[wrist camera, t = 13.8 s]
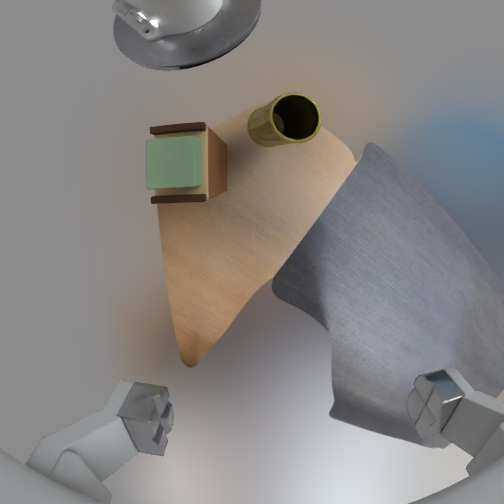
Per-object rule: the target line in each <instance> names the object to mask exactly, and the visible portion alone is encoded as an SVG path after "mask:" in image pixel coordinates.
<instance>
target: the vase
mask: <svg viewBox="0 0 504 504" xmlns="http://www.w3.org/2000/svg"><path fill="white" fill-rule="evenodd" d="M320 125H321V113H320V110H319V108H318V106H317V104H316V103H315V102H314V101H313V100H312V99H311V98H310V97H308V96H306V95H304V94H301V93H287V94H284V95H281V96H278V97H277V98H275V99H274V100H273V101H271V102H270V103H269V104H268V105H266V106H265V107H261V108H259V109H257V110H255V111H254V112H253V113H252V114H251V116H250V117H249V120H248V133H249V135H250V137H251V138H252V140H253V141H254V142H256V143H257V144H259V145H261V146H264V147H274V146H278V145H284V144H290V143H303V142H306V141H308V140H310V139H312V138H313V137H314V136H315V135H316V134H317V132H318V131H319V128H320Z"/></svg>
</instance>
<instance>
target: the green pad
mask: <svg viewBox="0 0 504 504" xmlns="http://www.w3.org/2000/svg"><path fill="white" fill-rule="evenodd" d="M146 177H147V189H163V188H182V187H196V186H202V184H203V182H202V140H200V139H198V138H197V137H195V136H183V137H172V138H162V139H153V140H147V141H146Z"/></svg>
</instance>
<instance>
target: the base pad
mask: <svg viewBox="0 0 504 504" xmlns="http://www.w3.org/2000/svg"><path fill="white" fill-rule="evenodd" d="M150 133H151V134H153V135H155V139H162V138H172V137H183V136H195V137H197V138H198V139H200V140H202V182H203V184H202V186H196V187H182V188H163V189H155V196H154V197H151V203H152V204H157V203H181V202H204V201H206V200H208V199H210V198H212V197H214V196H216V195H218V194H221V193H223V192H225V191H227V145H226V144H225V143H224V142H223V141H222V140H221V139H220V138H219V137H218V136H217V135H216V134H215V133H214V132H213V131H212V130H211V129H210V128H209V127H208V126H207V125H206V124H205V123H204V122H197V123H183V124H173V125H164V126H156V127H150Z"/></svg>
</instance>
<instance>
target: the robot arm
mask: <svg viewBox="0 0 504 504" xmlns="http://www.w3.org/2000/svg"><path fill="white" fill-rule="evenodd" d="M222 3H223V0H116V1H115V2H114V4H113V7H112V10H113V12H114V13H115V14H116V15H118V16H119V17H120V18H121V19H122V20H123V21H125V22H126V23H127V24H128V25H129V26H130V27H132V28H133V29H134V30H135V31H136V32H137V33H138V34H140V35H141V36H142V37H143V38H144V39H145V40H146V41H154V40H157V39H159V38H161V37H163V36H167V35H176V34H182V33H186V32H190V31H193V30H195V29H197V28H199V27H201V26H203V25H205V24H206V23H208V22H209V21H210V20H212V19H213V18H214V17H215V16H216V15H217V13H218V12H219V11H220V9H221V7H222ZM148 31H149V32H148ZM147 32H148V33H147ZM414 387H415V388H414V389H413V390H412V391H411V392H410V393H409V396H408V398H407V406H406V408H407V412H408V414H409V416H410V418H412V419H414V420H415V421H416V423H415V428H416V430H417V431H418V433H419V435H420V437H421V439H424V438H427V437H430V436H433V435H436V434H439V433H441V435H442V436H444V437H445V438H446V439H448V440H449V441H451V442H452V443H454V444H455V445H457V446H458V447H460V448H461V449H462V450H464V451H465V452H467V453H468V454H470V455H471V456H473V457H474V458H473V459H472V460H471V461H470V463H469V464H468V465H467V467H466V470H467V472H468V474H469V477H467V478H465V479H463V480H461V481H460V482H458V483H455V484H454V485H451V486H449V487H447V488H445V489H443V490H441V491H439V492H437V493H434V494H432V495H429V496H427V497H425V498H422V499H420V500H417V501H414V502H412V503H409V504H504V401H501V400H499V399H496V398H494V397H491V396H489V395H487V394H484V393H482V392H479V391H476V392H475V391H474V390H473V389H472V387H471V386H470V385H469V384H468V383H467V381H466V380H465V379H464V378H463V377H462V375H461V374H460V373H459V372H458V371H457V370H456V368H454V367H449V368H445V369H441V370H438V371H434V372H430V373H426V374H422V375H419V376H418V377H417V378H416V379H415V382H414ZM168 398H169V393H168V389H167V388H166V387H164V386H157V385H152V384H146V383H140V382H133V381H128V380H121V381H120V382H119V383H118V384H117V386H116V388H115V389H114V391H113V393H112V394H111V396H110V398H109V399H108V401H107V403H106V404H105V406H104V408H103V410H102V411H101V412H99V411H96V412H94V413H92V414H91V415H89V416H87V417H85V418H83V419H81V420H79V421H77V422H75V423H73V424H70V425H68V426H66V427H64V428H62V429H60V430H58V431H56V432H54V433H52V434H49V435H47V436H45V437H43V438H42V439H41V441H40V442H39V444H38V446H37V447H36V449H35V450H34V452H33V453H32V455H31V456H30V458H29V460H28V461H27V463H26V464H23V463H21V462H20V461H18V460H17V459H15V458H14V457H12V456H11V455H9V454H8V453H6V452H5V451H3V450H2V449H0V504H110V502H111V499H112V494H111V492H110V491H109V490H108V489H107V488H106V487H105V485H104V484H103V483H102V481H103V480H105V479H106V478H107V477H109V476H110V475H111V474H113V473H114V472H115V471H117V470H118V469H119V468H120V467H121V466H123V465H124V464H125V463H127V462H128V461H129V460H130V459H132V458H133V457H134V456H135V455H137V454H138V452H142V453H147V454H153V455H159V456H164V452H165V449H166V446H167V442H168V440H167V437H166V434H167V433H169V432H170V431H171V429H172V426H173V418H174V413H173V407H172V404H170V403H169V402H168Z"/></svg>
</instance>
